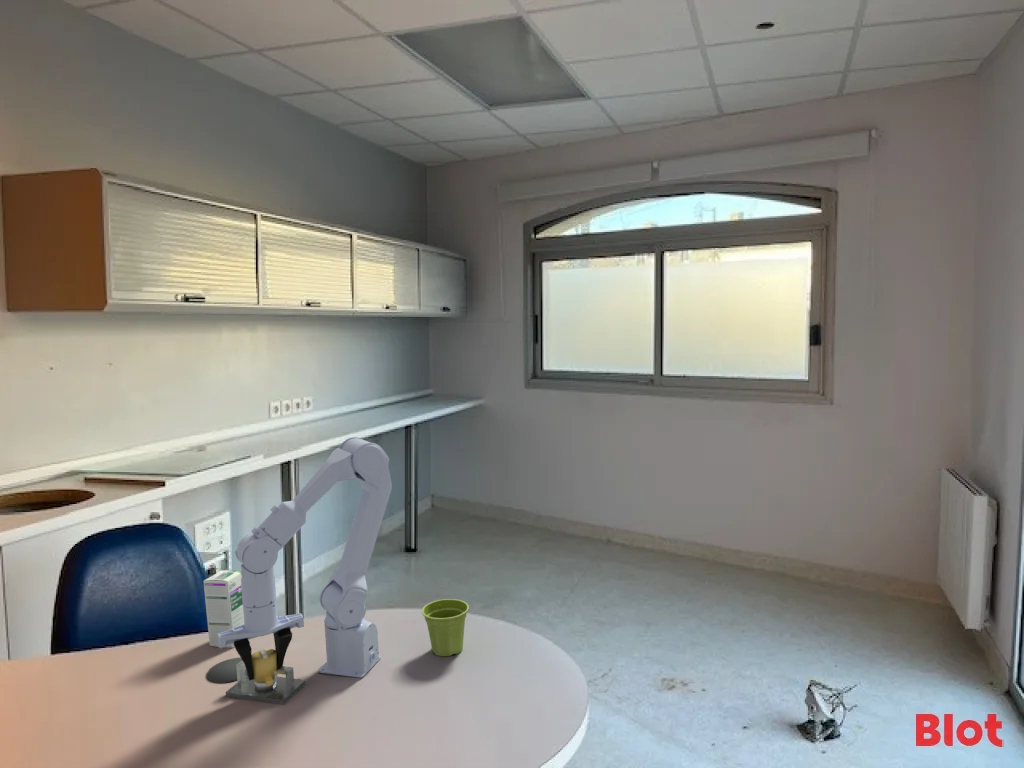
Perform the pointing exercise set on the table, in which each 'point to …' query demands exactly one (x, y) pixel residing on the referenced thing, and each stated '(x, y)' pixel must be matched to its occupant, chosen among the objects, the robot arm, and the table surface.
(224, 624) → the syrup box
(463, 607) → the plant pot
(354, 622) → the robot arm
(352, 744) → the table surface
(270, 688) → the grey plate with posts
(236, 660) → the mat
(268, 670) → the cap
